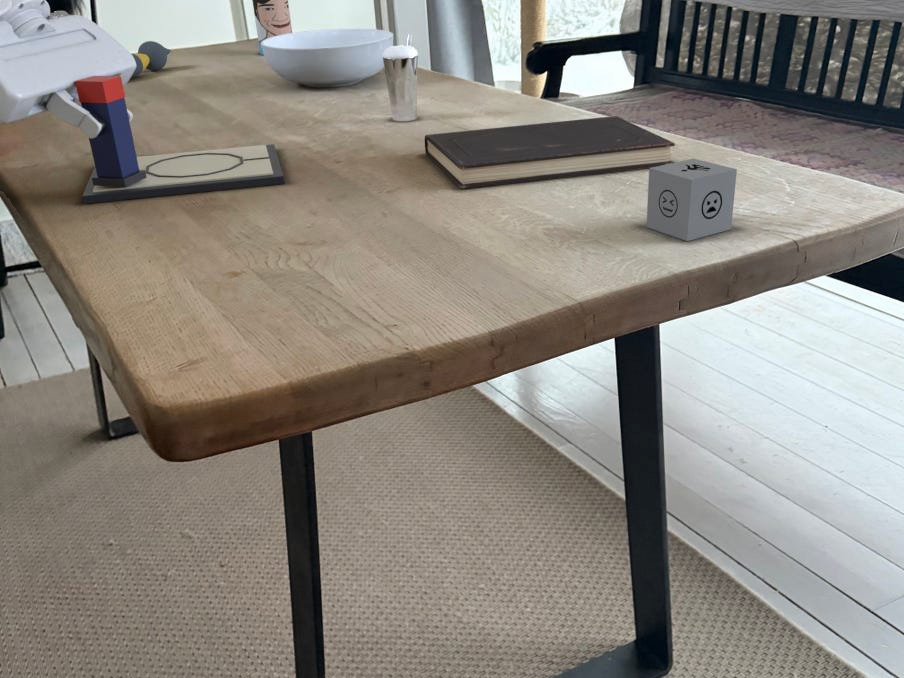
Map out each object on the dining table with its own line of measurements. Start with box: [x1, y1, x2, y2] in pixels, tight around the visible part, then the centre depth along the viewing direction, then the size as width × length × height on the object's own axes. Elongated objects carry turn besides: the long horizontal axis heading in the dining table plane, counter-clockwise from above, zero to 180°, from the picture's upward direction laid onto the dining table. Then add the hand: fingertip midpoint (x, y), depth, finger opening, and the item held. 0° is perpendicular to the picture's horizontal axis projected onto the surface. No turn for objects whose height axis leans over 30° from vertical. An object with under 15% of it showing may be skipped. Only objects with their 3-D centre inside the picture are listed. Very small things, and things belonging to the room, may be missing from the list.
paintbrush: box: [130, 40, 172, 79], centre depth 168 cm, size 20×5×5 cm, turn 170°
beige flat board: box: [81, 143, 285, 205], centre depth 104 cm, size 20×16×1 cm
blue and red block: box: [75, 76, 147, 187], centre depth 95 cm, size 4×4×10 cm
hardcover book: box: [424, 115, 676, 190], centre depth 103 cm, size 16×23×2 cm
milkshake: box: [382, 33, 419, 122], centre depth 124 cm, size 5×5×10 cm
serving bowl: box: [261, 28, 394, 88], centre depth 152 cm, size 21×21×7 cm
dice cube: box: [645, 158, 738, 242], centre depth 80 cm, size 5×5×5 cm
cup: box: [252, 0, 293, 56], centre depth 184 cm, size 7×7×15 cm
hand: (113, 127), depth 95 cm, fingers closed on blue and red block, 3 cm apart
